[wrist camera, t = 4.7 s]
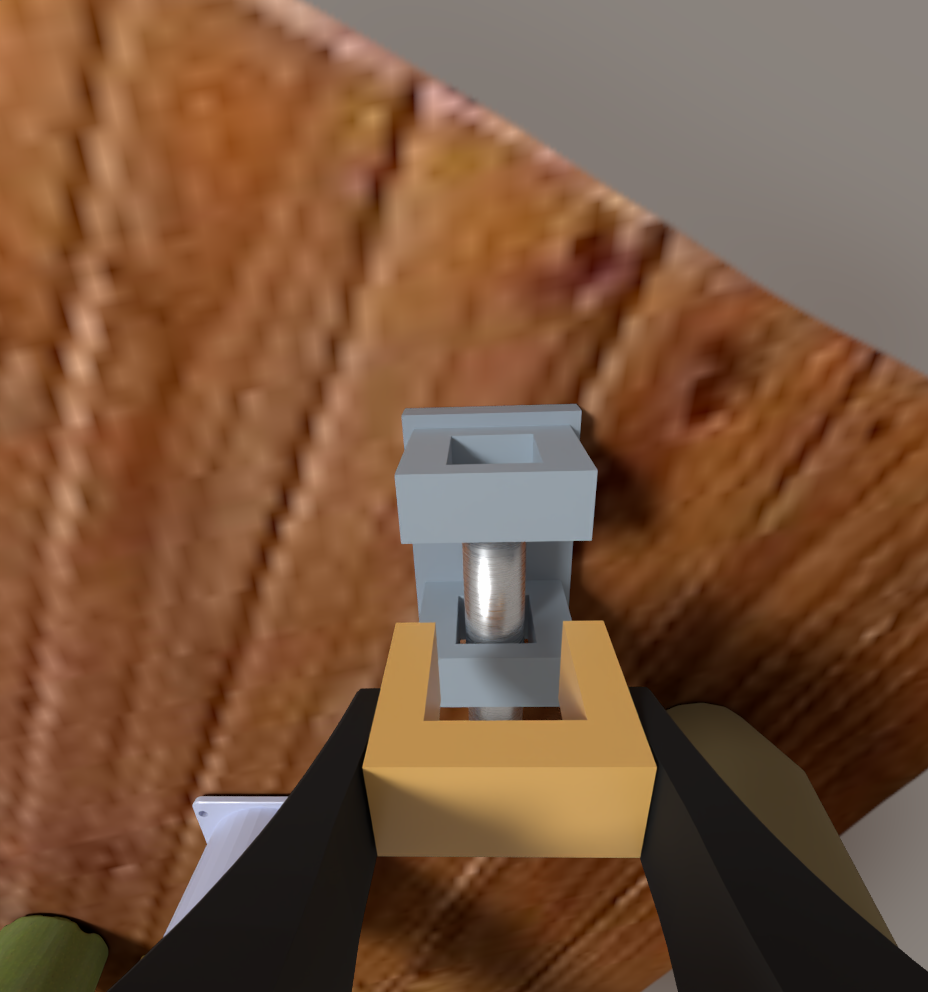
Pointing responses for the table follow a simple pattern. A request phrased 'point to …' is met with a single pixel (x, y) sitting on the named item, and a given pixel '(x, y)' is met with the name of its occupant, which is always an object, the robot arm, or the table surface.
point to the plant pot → (49, 956)
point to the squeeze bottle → (777, 798)
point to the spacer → (508, 762)
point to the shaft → (494, 604)
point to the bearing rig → (495, 535)
